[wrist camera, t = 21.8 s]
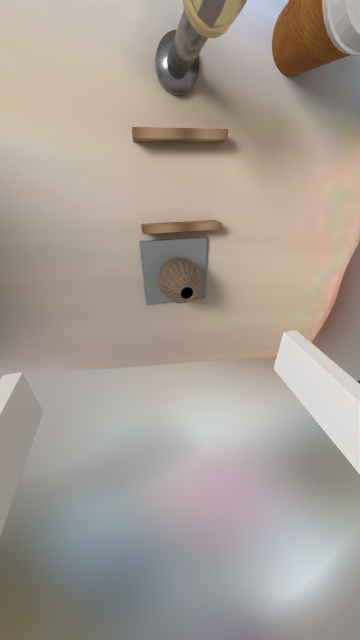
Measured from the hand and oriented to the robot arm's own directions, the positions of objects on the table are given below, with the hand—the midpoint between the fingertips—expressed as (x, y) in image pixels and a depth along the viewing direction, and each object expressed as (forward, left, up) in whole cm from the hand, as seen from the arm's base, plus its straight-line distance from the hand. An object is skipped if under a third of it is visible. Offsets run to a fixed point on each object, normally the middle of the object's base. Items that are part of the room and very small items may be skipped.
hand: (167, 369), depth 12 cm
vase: (+6, -5, -28) cm, 29 cm away
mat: (+6, -5, -29) cm, 30 cm away
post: (+7, +20, -29) cm, 36 cm away
